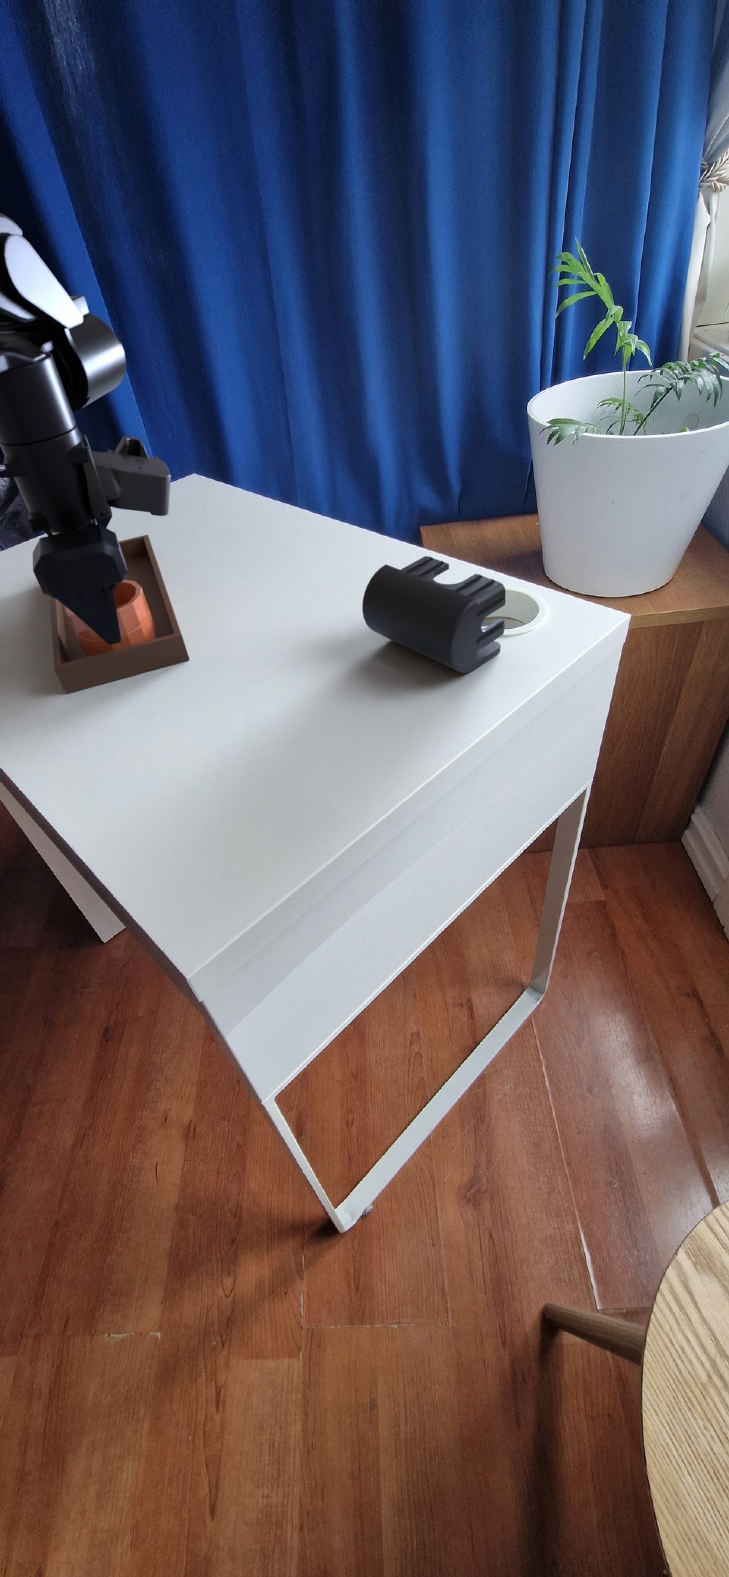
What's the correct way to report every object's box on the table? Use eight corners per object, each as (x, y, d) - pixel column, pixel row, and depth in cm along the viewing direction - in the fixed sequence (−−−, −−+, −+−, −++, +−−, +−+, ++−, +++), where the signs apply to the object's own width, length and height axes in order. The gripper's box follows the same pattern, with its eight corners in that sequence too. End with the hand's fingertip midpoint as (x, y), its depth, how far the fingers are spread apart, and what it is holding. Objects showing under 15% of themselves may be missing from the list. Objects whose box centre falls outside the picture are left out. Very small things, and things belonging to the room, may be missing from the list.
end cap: (365, 649, 62) (356, 578, 57) (421, 616, 65) (417, 545, 60) (450, 692, 56) (449, 616, 51) (507, 653, 59) (511, 578, 54)
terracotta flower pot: (102, 675, 62) (80, 625, 58) (76, 646, 66) (54, 598, 62) (170, 646, 64) (153, 596, 61) (140, 619, 68) (123, 571, 65)
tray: (189, 660, 63) (181, 634, 61) (65, 694, 61) (53, 669, 59) (154, 556, 80) (147, 534, 78) (56, 580, 78) (47, 558, 76)
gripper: (162, 444, 47) (218, 644, 58) (132, 383, 60) (182, 556, 71) (-10, 480, 45) (81, 681, 56) (-2, 410, 58) (70, 583, 69)
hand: (110, 618), depth 63 cm, fingers open, 9 cm apart
